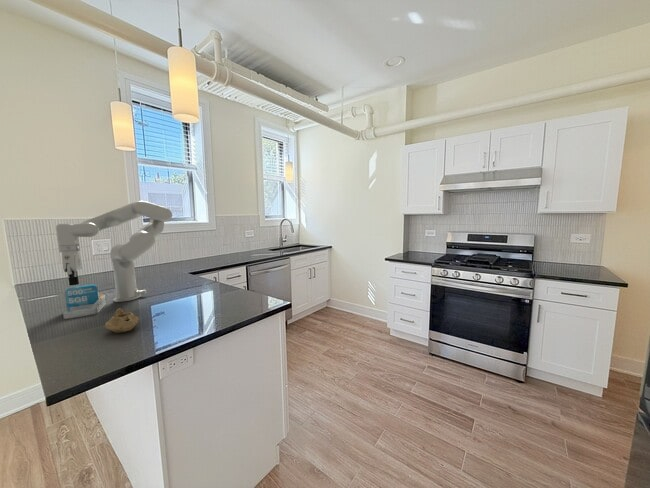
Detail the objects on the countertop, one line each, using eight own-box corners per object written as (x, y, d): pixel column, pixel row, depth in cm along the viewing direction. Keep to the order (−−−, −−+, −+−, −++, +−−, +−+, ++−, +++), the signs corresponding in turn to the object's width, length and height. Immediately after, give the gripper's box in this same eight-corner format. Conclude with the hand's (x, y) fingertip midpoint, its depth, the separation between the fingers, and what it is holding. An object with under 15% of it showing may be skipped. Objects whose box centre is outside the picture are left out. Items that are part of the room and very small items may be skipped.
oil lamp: (119, 339, 100) (116, 319, 99) (99, 332, 107) (97, 313, 106) (149, 328, 110) (147, 309, 109) (130, 322, 117) (128, 304, 116)
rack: (105, 303, 145) (104, 294, 145) (97, 313, 129) (96, 303, 129) (76, 307, 140) (75, 297, 139) (64, 319, 123) (62, 307, 123)
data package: (67, 313, 131) (64, 289, 130) (68, 311, 134) (64, 288, 133) (99, 307, 139) (96, 284, 138) (99, 305, 142) (96, 283, 141)
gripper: (74, 249, 128) (79, 286, 130) (83, 246, 141) (88, 280, 143) (53, 250, 125) (58, 289, 126) (64, 247, 138) (69, 282, 139)
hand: (74, 284), depth 135 cm, fingers closed
